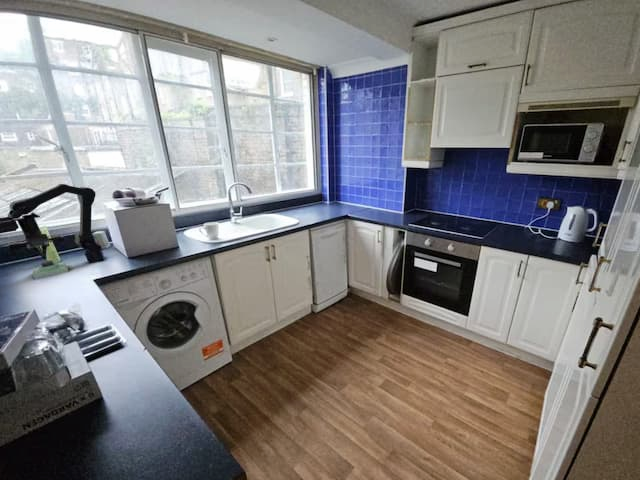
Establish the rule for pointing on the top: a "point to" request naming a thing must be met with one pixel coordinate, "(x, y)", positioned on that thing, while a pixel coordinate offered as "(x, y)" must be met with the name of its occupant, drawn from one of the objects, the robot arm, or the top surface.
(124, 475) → the top surface
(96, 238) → the cosmetics bottle
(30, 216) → the robot arm
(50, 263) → the pump head
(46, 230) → the tube
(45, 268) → the dispenser
